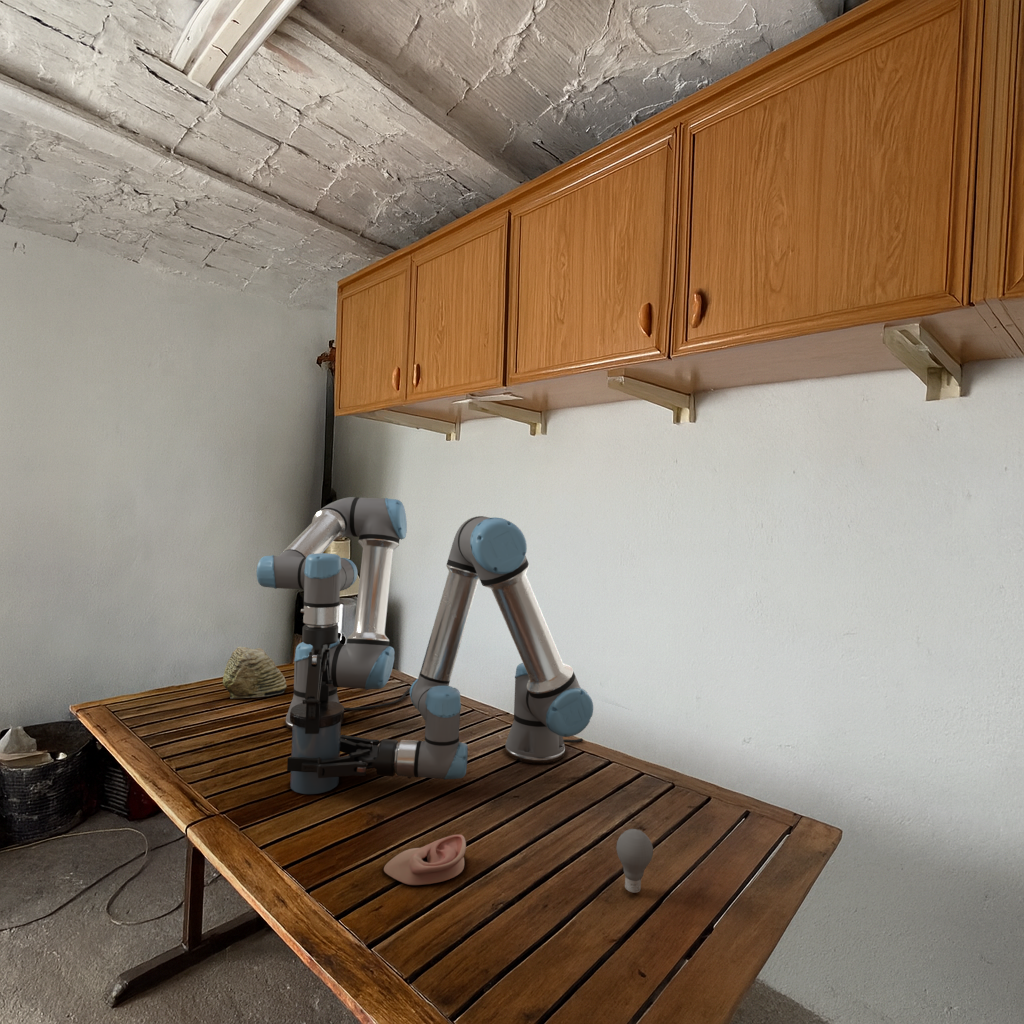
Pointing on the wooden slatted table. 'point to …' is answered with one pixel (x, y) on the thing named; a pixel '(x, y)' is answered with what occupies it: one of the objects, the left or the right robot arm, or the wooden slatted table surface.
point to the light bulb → (634, 857)
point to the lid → (328, 714)
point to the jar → (314, 747)
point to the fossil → (252, 674)
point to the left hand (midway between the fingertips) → (317, 723)
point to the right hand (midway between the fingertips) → (296, 753)
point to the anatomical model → (429, 862)
